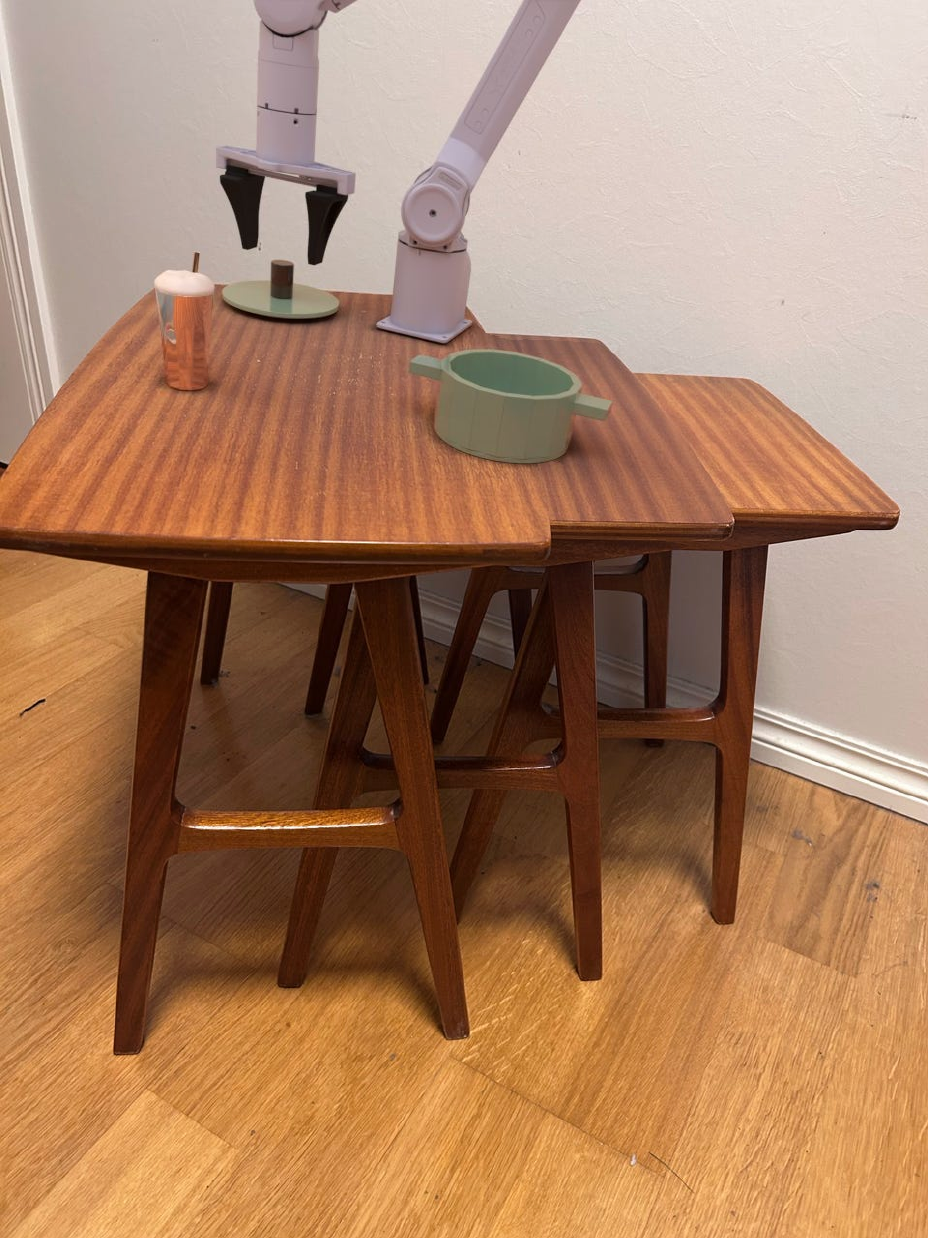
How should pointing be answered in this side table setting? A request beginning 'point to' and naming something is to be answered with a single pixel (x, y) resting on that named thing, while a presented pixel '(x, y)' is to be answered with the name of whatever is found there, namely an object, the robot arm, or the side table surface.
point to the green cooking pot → (506, 404)
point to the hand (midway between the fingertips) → (282, 255)
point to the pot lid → (280, 296)
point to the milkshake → (185, 325)
